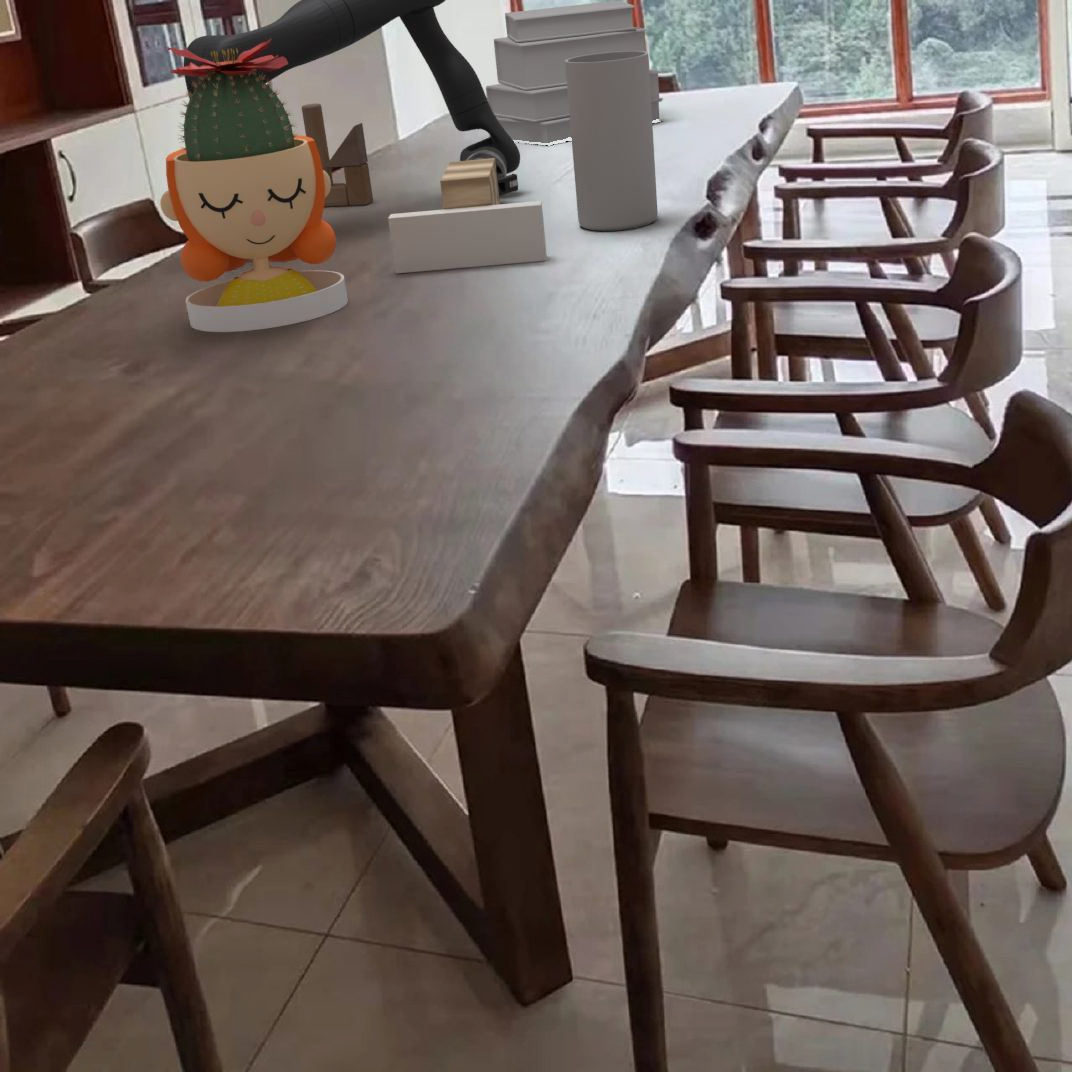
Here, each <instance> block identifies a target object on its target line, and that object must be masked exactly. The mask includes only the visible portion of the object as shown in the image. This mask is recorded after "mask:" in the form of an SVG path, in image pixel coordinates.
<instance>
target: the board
mask: <svg viewBox="0 0 1072 1072" xmlns="http://www.w3.org/2000/svg"><path fill="white" fill-rule="evenodd" d="M387 221H388V227H389V228H388V229H389V236H390V243H391V250H392V255H393V256H392V257H393V265H394V271H395V274H405V273H406V274H407V273H415V272H416V273H417V272H418V273H419V272H427V271H440V270H452V269H464V268H465V269H466V268H475V267H486V266H498V265H499V266H500V265H509V264H519V263H520V264H521V263H522V264H523V263H532V262H534V263H535V262H545V261H547V256H548V255H547V244H546V234H545V225H544V213H543V202H542V200H537V201H536V200H535V201H534V200H533V201H524V202H511V203H500V204H499V205H488V206H477V207H466V208H454V209H444V208H443V209H434V210H423V211H412V212H403V213H402V212H399V213H390V215H389V216H388V217H387Z"/></svg>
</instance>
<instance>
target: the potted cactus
mask: <svg viewBox="0 0 1072 1072" xmlns="http://www.w3.org/2000/svg"><path fill="white" fill-rule="evenodd" d="M271 42H272V41H271V39H269V40H268V41H267V42H263V43H261V44H259V45H257V46H256V47H254V48H253V49H251V50H248V51H244V52H243V53H241V54H240V55H239V57H238V59H237V60H236V61H235V56H234V62H233V56H232V61H226V62H225V60H224V62H219V61H218V60H217V61H218V63H215V62H212V61H209V60H206V59H203V58H200V57H198V56H197V55H195V54H193V53H192V52H190V51H188V50H187V48H185V49H179V48H176V47H169V46H168V47H167V49H166V51H167V52H168V51H172V53H173V54H174V55H176V56H180V57H183V58H184V57H186V58H190V59H194V60H196V61H198V62H201V63H203V64H205V65H208V66H204V65H203V66H200V67H198V66H196V65H195V64H193V63H191V62H190V65H189V66H186V67H184V66H181V67H178V68H176V69H171V70H170V72H171V73H172V74H174V75H175V74H176V75H180V76H184V75H186V76H201V77H198V78H201V80H202V82H201V83H200V84H199V83H198V82H197V83H198V84H199V85H198V86H197V84H196V83H194V82H195V81H194V82H193V83H194V84H195V85H194V86H195V88H196V89H195V91H194V92H193V94H192V95H191V93H190V92H188V91H187V90H188V89H187V88H186V92H185V94H184V95H186V96H188V98H189V97H191V98H190V99H188V103H187V102H186V101H185V100H182V102H184V104H183V103H181V104H180V105H182V106H183V107H184V108H186V110H185V112H184V111H183V110H179V115H180V118H184V121H183V123H181V122H179V124H181V126H182V127H181V126H179V125H177V128H178V129H182V130H179V132H183V135H180V134H178V133H177V136H179V137H177V140H182V141H179V142H178V143H184V146H185V147H183V146H181V148H180V149H178V150H176V151H173V152H171V153H169V154H168V155H167V156H166V157H165V177H166V182H167V190H166V191H165V192H164V193H162V195H161V198H160V204H159V205H160V208H161V211H162V213H163V214H164V216H165V217H166V218H167V219H169V220H170V221H172V222H173V221H174V222H177V223H178V224H179V227H180V229H181V230H182V231H183V232H182V233H184V235H185V236H186V238H187V239H188V240H187V241H186V242H185V244H184V245H183V247H182V249H181V253H180V264H181V267H182V269H183V271H184V272H185V273H186V274H187V275H188V276H189V277H190V278H191V279H192V280H193V279H194V280H195V281H198V282H206V283H207V282H211V281H216V280H217V279H219V278H220V277H222V276H223V275H224V274H225V273H227V272H231V271H232V272H233V271H235V270H238V269H240V268H242V267H243V266H245V265H246V264H247V263H249V261H250V260H252V264H253V269H251V270H248V271H245V272H243V273H242V274H240V275H239V276H235V277H233V279H231V280H228V281H223V282H220V283H217V284H213V285H209V286H206V287H204V288H201V289H199V290H197V291H195V292H192V293H190V294H189V295H187V296H186V298H185V305H186V311H187V314H188V320H189V324H190V325H189V326H190V327H191V329H192V328H193V329H195V330H197V331H201V332H209V333H210V332H211V333H234V332H235V333H236V332H246V331H247V332H248V331H255V330H256V331H257V330H265V329H271V328H278V327H283V326H289V325H293V324H294V325H295V324H299V323H302V322H306V321H310V320H314V319H317V318H318V319H319V318H320V317H325V316H327V315H330V314H332V313H334V312H337V311H338V310H341V309H342V308H344V307H345V306H347V304H348V301H349V300H348V294H347V293H348V292H347V287H346V282H345V281H346V280H345V276H344V274H342V273H341V272H337V271H332V270H323V269H321V270H319V269H318V270H316V269H312V270H311V269H310V270H308V269H307V270H306V269H304V270H295V269H294V268H285V267H282V266H270V262H274V263H283V262H291V261H296V260H299V259H300V261H302V262H303V263H306V264H309V265H319V264H323V263H325V262H327V261H328V260H330V259H331V258H332V256H333V255H334V253H335V250H336V247H337V237H336V234H335V231H334V230H333V228H332V226H331V225H330V224H329V223H328V222H326V220H324V219H322V217H323V213H324V210H325V207H324V206H325V197H327V195H328V194H329V192H330V189H331V180H330V177H329V175H328V174H327V173H326V172H325V171H324V170H323V168H322V164H321V159H320V155H319V152H318V149H317V146H316V143H315V140H313V139H312V138H310V137H307V136H306V135H300V133H295V131H293V128H298V126H297V124H295V123H296V121H294V120H292V121H291V120H290V119H289V117H293V115H294V114H295V113H293V112H291V111H290V109H289V110H288V109H285V107H284V106H285V105H287V101H286V100H287V98H286V97H283V100H282V97H280V98H279V97H278V95H280V94H281V89H280V88H277V89H276V88H274V89H272V88H270V87H271V86H273V85H274V84H273V82H272V80H271V81H269V82H268V81H267V83H264V82H263V81H262V80H264V77H265V76H263V77H262V76H260V75H259V76H258V77H259V78H258V77H256V76H255V75H256V74H255V73H254V72H253V71H255V70H256V68H257V70H258V69H260V70H263V71H268V72H270V71H274V70H277V69H280V68H282V67H284V66H285V65H288V62H287V59H286V58H285V57H283V56H282V57H279V58H278V55H277V56H276V57H275V58H274V57H273V56H272V55H268V56H264V57H260V58H257V59H254V60H252V61H249V62H246V61H248V60H250V59H252V58H254V57H255V56H257V55H259V54H260V53H261V52H262V51H264V50H265V49H266V48H267V47H268V46H269V44H270V43H271ZM236 51H237V53H238V50H237V48H236ZM213 53H214V56H215V57H216V55H217V58H216V59H218V53H217V52H216V54H215V52H213ZM227 53H228V59H229V50H228V51H227ZM231 53H232V49H231ZM222 54H224V55H225V57H226V53H225V51H224V52H223V49H222ZM233 54H235V53H234V50H233ZM224 55H223V57H224ZM211 56H212V52H211ZM212 59H213V58H212ZM216 59H215V60H216ZM213 61H214V60H213ZM217 61H216V62H217ZM253 68H255V69H253ZM206 71H210V72H213V73H212V74H210V75H209V76H208V75H207V74H208V73H210V72H206ZM214 72H215V73H214ZM252 72H253V73H252ZM254 74H255V75H254ZM205 75H206V76H207V77H206V76H205ZM203 76H205V77H206V78H205V77H203ZM203 78H205V79H203ZM262 78H263V79H262ZM265 79H266V78H265ZM199 82H200V81H199ZM192 85H193V84H192ZM192 87H193V86H192ZM275 89H276V90H275ZM193 90H194V89H193ZM189 91H190V90H189ZM188 93H189V94H188ZM285 98H286V99H285Z"/></svg>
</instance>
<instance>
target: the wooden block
mask: <svg viewBox="0 0 1072 1072" xmlns="http://www.w3.org/2000/svg"><path fill="white" fill-rule="evenodd" d="M301 114H302V119H303V126H304V131H305V136H307V137H310V138H312V139H313V140H315V143H316V146H317V149H318V152H319V155H320V159H321V164H322V168H323V170H324V171H325V172H326V173H327V174H328V175H329V177H330V180H331V189H330V192H329V194H328V195H327V197H325V206H324V208H325V207H345V206H346V207H347V206H350V207H356V206H357V207H358V206H367V205H369V204H370V203H373V201H374V196H373V190H372V184H371V177H370V176H371V175H370V168H369V163H368V161H369V160H368V155H367V147H366V140H365V133H364V127H363V125H364V124H363V122H360V123H358V124H355V125H354V126H353V127H352V128H351V130H350V131H349V133H348V134H347V135H346V137H344V139H343V141H342V142H341V143H340V145H339V147H337V149H336V151H335V152H334V153H333V155H332V156H331V158H330V154H329V146H328V141H327V134H326V127H325V121H324V115H323V114H324V113H323V108H322V105H321V103H307V104H304V105H302V106H301ZM339 167H342V168H343V171H344V172H343V173H344V178H345V183H344V182H338V183H337V182H336V183H334V180H333V173H332V168H339Z"/></svg>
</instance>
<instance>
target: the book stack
mask: <svg viewBox="0 0 1072 1072" xmlns="http://www.w3.org/2000/svg"><path fill="white" fill-rule="evenodd" d="M632 8H636V7H635V5H634V4H631V3H628V2H625V1H622V0H611V1H604V2H603V1H602V2H594V3H584V4H575V5H568V6H567V5H566V6H555V7H548V8H539V9H529V10H521V11H513V12H512V11H511V12H505V13H504V16H505V18H504V19H505V29H506V35H507V36H505V37H499V38H498V37H497V38H494V39H493V46H494V57H495V67H496V76H497V82H498V83H497V84H492V85H491V84H490V85H486V86H485V95H486V98H487V101H488V103H489V105H490V107H491V109H492V111H493V113H494V115H495V117H496V118H497V120H498V121H499V123H500V124H501V126H502V127H503V128H504V130H505V131H506V132H507V133H508V135H509V136H510V137H511V138H512V140H522V141H529V142H541V143H550V142H553V141H557V140H563V139H566V138H568V137H571V126H570V114H569V102H568V90H567V78H566V65H565V60H567V59H570V58H574V57H578V56H584V55H591V54H598V53H608V52H621V51H644V52H646V43H645V39H646V38H645V32H646V31H648V29H647V28H644V27H636V26H634V22H633V21H634V20H633V9H632ZM661 73H662V71H661V70H656V69H649V75H650V92H651V109H652V121H653V120H656V119H660V103H661V102H663V101H664V98H661V97H660V87H659V74H661ZM660 120H661V119H660ZM488 134H489V133H488ZM489 137H491V136H490V134H489Z"/></svg>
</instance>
